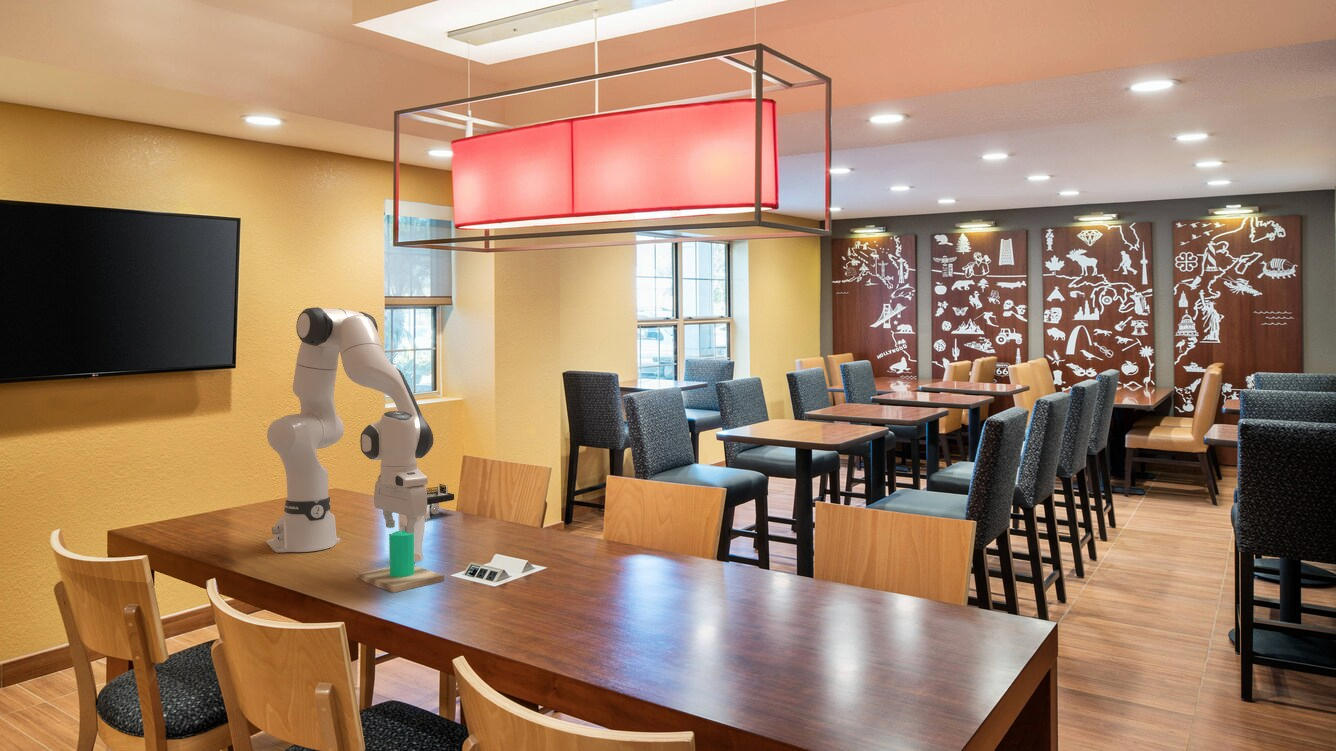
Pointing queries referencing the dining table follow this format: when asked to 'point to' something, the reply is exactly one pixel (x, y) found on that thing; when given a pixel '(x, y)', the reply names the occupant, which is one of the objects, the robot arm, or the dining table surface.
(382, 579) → the birch board
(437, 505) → the black-topped pedestal
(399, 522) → the beer glass
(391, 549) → the candle
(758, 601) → the dining table surface
